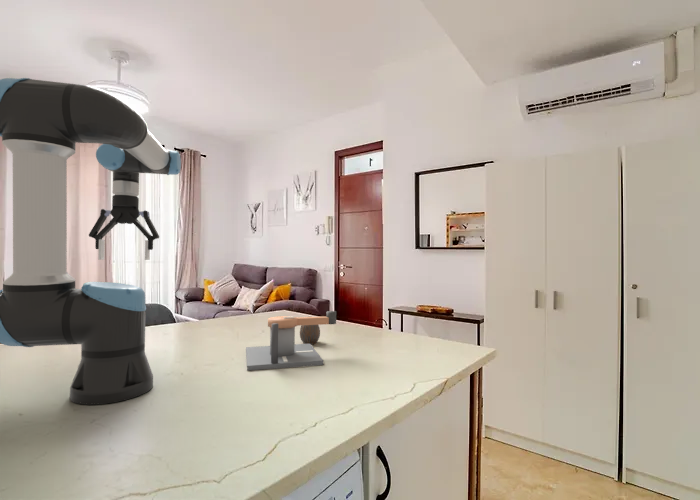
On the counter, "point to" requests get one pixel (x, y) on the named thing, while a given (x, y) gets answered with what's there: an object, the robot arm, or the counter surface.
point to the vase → (309, 334)
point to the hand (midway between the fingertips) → (124, 259)
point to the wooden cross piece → (302, 320)
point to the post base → (293, 361)
